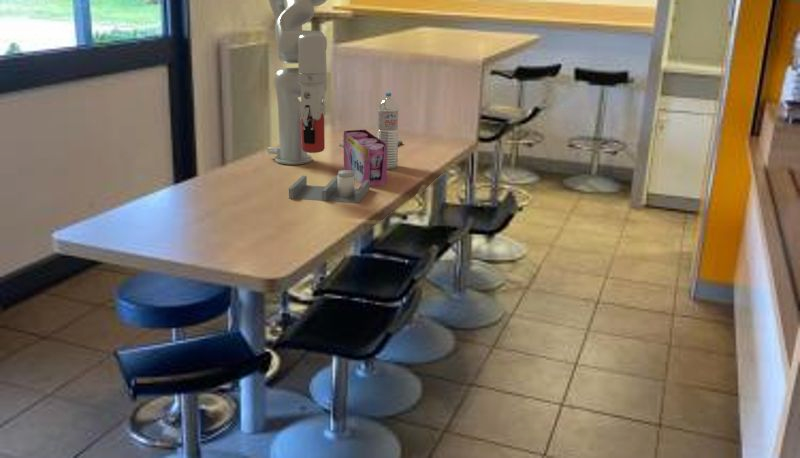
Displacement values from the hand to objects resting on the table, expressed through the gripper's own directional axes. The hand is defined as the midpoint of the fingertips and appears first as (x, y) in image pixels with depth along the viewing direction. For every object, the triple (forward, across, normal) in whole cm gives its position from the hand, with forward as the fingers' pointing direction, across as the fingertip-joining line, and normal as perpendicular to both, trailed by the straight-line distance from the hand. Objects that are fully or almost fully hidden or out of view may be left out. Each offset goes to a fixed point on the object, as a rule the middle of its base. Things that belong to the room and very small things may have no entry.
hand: (313, 140), depth 235 cm
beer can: (+3, 0, 0) cm, 3 cm away
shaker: (+16, 0, -10) cm, 19 cm away
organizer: (+17, 0, -5) cm, 18 cm away
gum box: (+17, +22, -10) cm, 30 cm away
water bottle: (+17, +38, -15) cm, 44 cm away
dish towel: (+18, +67, -3) cm, 69 cm away
